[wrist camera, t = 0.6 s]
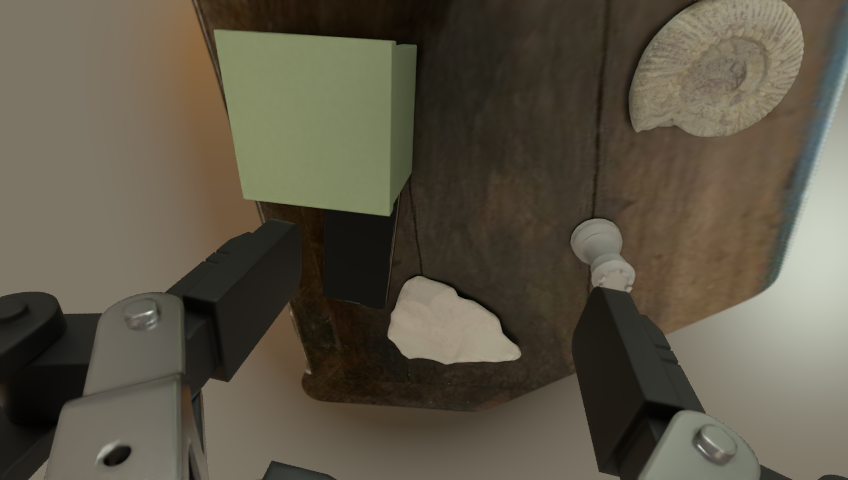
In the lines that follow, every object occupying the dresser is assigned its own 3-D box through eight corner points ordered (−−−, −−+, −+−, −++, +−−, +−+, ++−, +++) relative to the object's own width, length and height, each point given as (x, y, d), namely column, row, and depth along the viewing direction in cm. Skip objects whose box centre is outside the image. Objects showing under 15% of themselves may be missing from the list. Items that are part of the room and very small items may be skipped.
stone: (397, 290, 39) (541, 333, 39) (404, 267, 43) (536, 307, 43) (376, 362, 45) (504, 400, 45) (384, 336, 48) (502, 372, 48)
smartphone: (399, 189, 37) (384, 311, 45) (401, 184, 38) (386, 305, 46) (324, 174, 38) (321, 297, 45) (328, 170, 39) (325, 291, 46)
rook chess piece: (619, 212, 36) (648, 256, 29) (619, 254, 38) (647, 305, 31) (568, 219, 37) (584, 263, 31) (571, 259, 39) (587, 309, 32)
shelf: (278, 28, 34) (212, 29, 26) (417, 38, 32) (392, 41, 24) (293, 165, 39) (243, 199, 32) (411, 177, 38) (389, 216, 30)
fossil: (647, 168, 30) (618, 33, 28) (634, 159, 34) (607, 38, 31) (828, 114, 27) (816, -48, 24) (794, 110, 30) (779, -32, 27)
